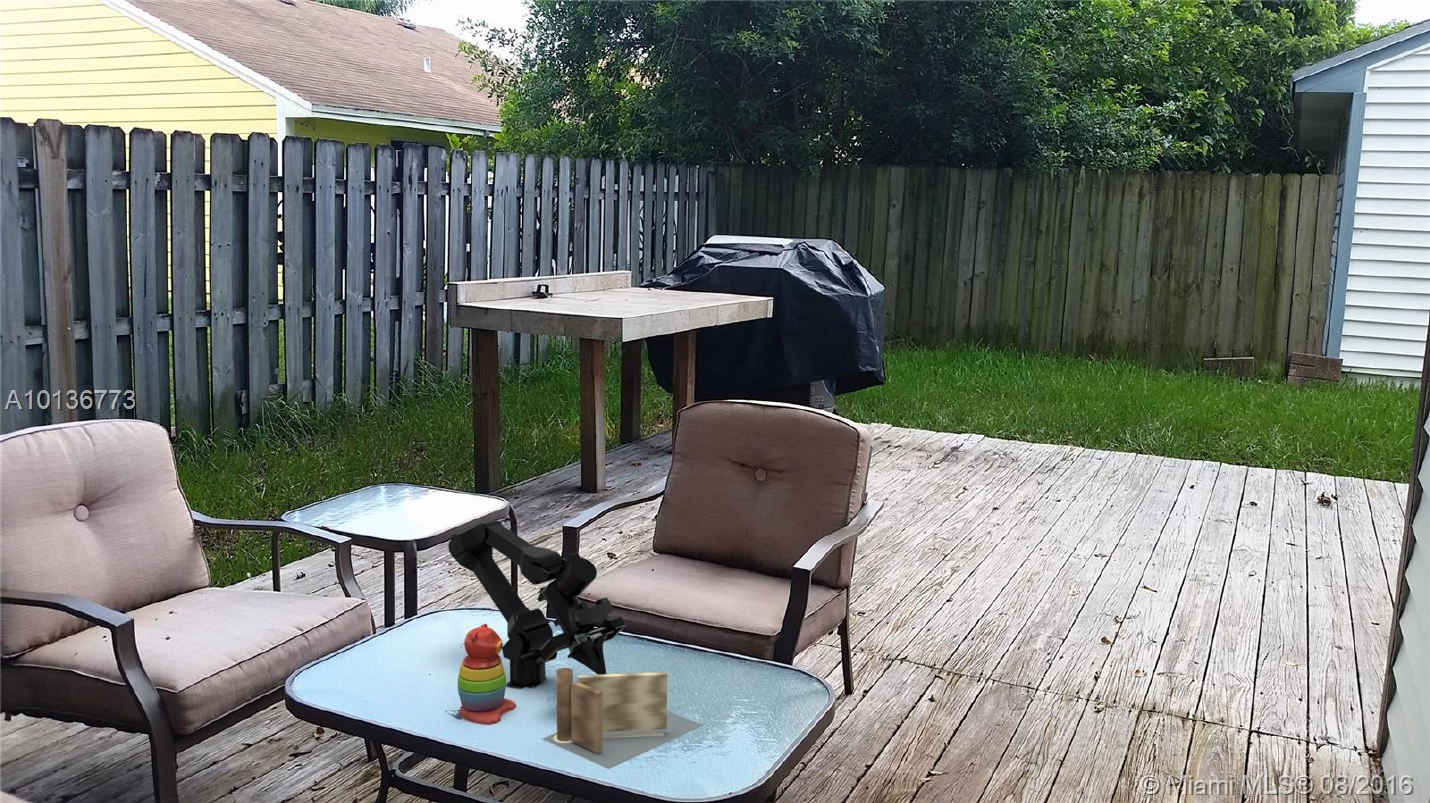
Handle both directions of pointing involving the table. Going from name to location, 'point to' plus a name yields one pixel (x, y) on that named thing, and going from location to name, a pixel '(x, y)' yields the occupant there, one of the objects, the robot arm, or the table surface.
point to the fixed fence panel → (578, 712)
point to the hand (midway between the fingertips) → (604, 675)
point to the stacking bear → (483, 678)
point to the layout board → (629, 742)
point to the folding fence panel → (631, 700)
